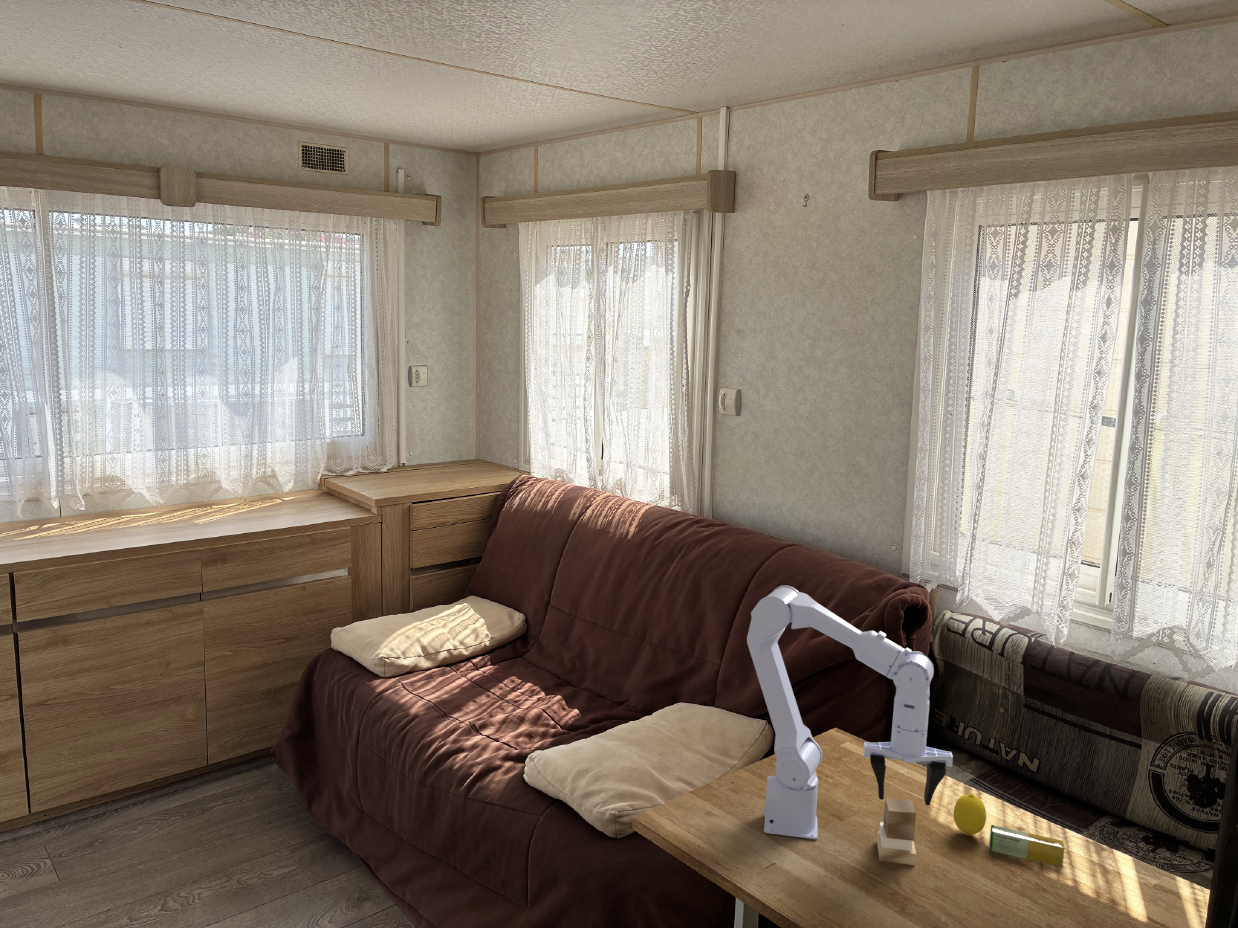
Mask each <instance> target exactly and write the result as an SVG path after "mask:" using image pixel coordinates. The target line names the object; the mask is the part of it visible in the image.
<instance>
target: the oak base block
mask: <svg viewBox="0 0 1238 928" xmlns="http://www.w3.org/2000/svg"><path fill="white" fill-rule="evenodd" d="M914 841H915V840H914ZM914 841H912V851H905V850H898V849H890V848H883V847H881V841H880V835H879V831H877V833H876V848H877V854H878V861H880V862H888V863H896V864H903V865H911V866H916V863H917V850H916V846H915V842H914Z"/></svg>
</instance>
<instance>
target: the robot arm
mask: <svg viewBox="0 0 1238 928" xmlns="http://www.w3.org/2000/svg"><path fill="white" fill-rule="evenodd" d="M750 615H751V619H750V624H749V627H748V633H747V635H746V643H747V646H748V649H749V653H750V657H751V659H752V663H753V666H754V669H755V671H756V676H757V679H758V682H759V685H760V689H761V690H762V695H763V698H764V701H765V704H766V706H767V708H766V709H767V711H768V714H769V716H770V721H771V724H772V727H773V729H774V732H775V736H774V739H775V740H774V746H773V747H774V749H773V751H774V755H775V758H776V761H775V768H774V769H775V774H776V775H773V776H769V775H768V776H767V780H766V794H765V805H763V812H762V813H763V814H762V816H763V817H764V828H763V832H764V833H765V834H770V835H779V836H785V837H795V838H802V839H809V840H818V837H819V834H818V830H819V829H818V827H819V826H818V817H817V807H818V806H817V805H818V792H819V791H818V789H819V778H818V775H817V772H816V769H817V768H818V767H819V766H820V764H821V763H822V760H823V752H822V748H821V746H820V745H819V743H817V742H816V740H815V739H814V737H813V735H812V733H811V730H810V728H808V727H807V726H806V725H805V724H804V723H803V719H802V717H801V714H800V710H799V707H798V704H797V700H796V698H795V695H794V691H793V688H792V684H791V681H790V679H789V675H788V672H787V669H786V666H785V662H784V659H783V656H782V652H781V649H780V646H779V644H778V642H779V639H780V638H781V636H782V635H783V633H784V632H785V629H786V628H787V626H788V625H790V624H791V627H790V628H791V630H796V629H804V628H805V629H806V628H813V629H814V630H816V631H819V632H820V633H822V634H823V635H826V636H828V637H830V638H832V639H834V640H836V641H837V642H840V643H841V644H843V645H845V646H846V647H849V648H850V649H852V651H853V655H854V656H855V659H856V660H858V661H859V662H861V663H863V664H864V665H866V666H867V667H869V668H871V669H873V670H874V671H876V672H878V673H879V674H881V675H882V676H884V677H886V678H888V679H890V680H892V681H893V684H894V686H895V689H896V690H895V695H894V699H893V700H894V701H893V714H892V726H891V738H890V741H885V742H884V741H882V742H881V741H879V742H868V741H864V742H863V757H864V758H867V759H870V765H871V769H872V771H873V773H874V776H875V779H876V782H877V789H878V800H882V801H883V800H885V799H884V797H885V796H884V795H885V778H886V777H885V776H886V770H887V769H886V768H887V767H886V760H885V759H890V760H891V759H892V760H898V761H899V760H900V761H901V760H902V761H903V762H904V763H908V764H916V763H917V762H918V763H926V779H925V780H926V781H925V787H924V793H923V795H924V797H923V800H924V803H925V804H924V805H925V806H931V803H932V802H931V801H932V798H933V796H934V794H935V791H936V790H937V787H938V786H939V784H940V782H941V781H942V780H943V779H944V777H945V776H946V773H947V769H946V767H948V768H952V767H953V762H954V761H953V760H954V759H953V758H954V755H953V753H952V751H948V750H947V751H946V750H942V749H938V748H934V747H929V746H927V738H928V726H929V713H930V694H931V693H930V685H931V681H932V679H933V677H934V672H935V669H934V664H933V662H932V661H931V660H930V658H929V657H928V656H926V655H925V654H924V653H923V652H921V651H918V650H917V651H915V650H914V651H912V649H910V648H909V647H906V648H904V647H902V646H901V645H898V644H897V643H895V642H893V641H892V640H890V639H888V638H886V637H887V634H886V633H885V632H883V631H881V630H879V631H878V632H876V631H875V630H868V631H861V630H860V629H858V628H856V627H855V626H853V625H852V624H850V623H849V622H847V621H846V620H844V619H843V618H842V617H840V616H838V615H837V614H835V613H834V612H832V611H831V610H829V609H828V608H826V607H824V606H823V605H821V604H820V603H818V602H817V601H816V600H814V598H812V597H811V596H810V595H809V594H807V593H804V592H802V591H801V592H799V590H797V588H795V587H793V586H791V585H780V586H778V587H776V588H774V590H773V591H771V593H769V594H767V595H766V596H765V597H762V598H761V599H760V600H759V601H758V602H757V604H756V605H755V606H754V608H753V609H752V610H751V612H750Z"/></svg>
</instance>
